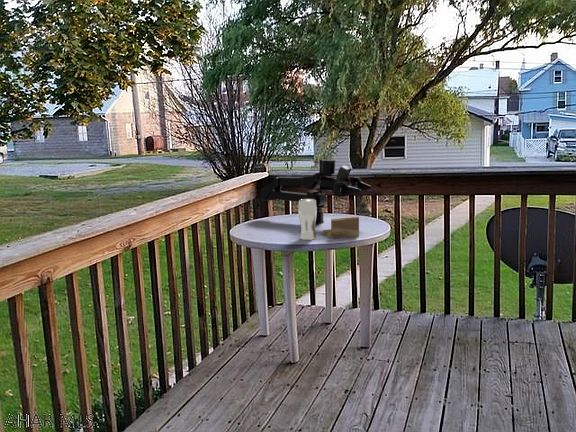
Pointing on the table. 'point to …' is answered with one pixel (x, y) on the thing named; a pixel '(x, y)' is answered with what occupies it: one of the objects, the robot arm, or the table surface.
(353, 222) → the cleat board
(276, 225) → the table surface
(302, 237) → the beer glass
